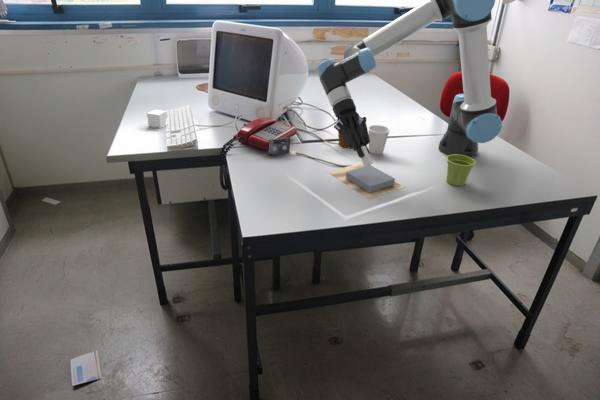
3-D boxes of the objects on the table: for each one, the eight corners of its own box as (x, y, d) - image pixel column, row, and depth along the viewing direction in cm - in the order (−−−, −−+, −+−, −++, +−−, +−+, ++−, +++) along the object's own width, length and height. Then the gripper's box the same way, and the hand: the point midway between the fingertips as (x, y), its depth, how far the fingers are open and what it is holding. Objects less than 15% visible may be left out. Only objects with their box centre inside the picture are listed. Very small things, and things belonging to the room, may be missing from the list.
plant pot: (436, 181, 143) (441, 158, 138) (449, 173, 148) (454, 151, 144) (461, 191, 137) (467, 168, 133) (474, 183, 143) (480, 160, 138)
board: (326, 174, 144) (326, 172, 144) (361, 164, 152) (361, 162, 152) (368, 201, 129) (369, 199, 128) (404, 189, 137) (404, 187, 136)
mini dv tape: (288, 151, 161) (288, 136, 158) (289, 152, 160) (289, 138, 157) (268, 153, 158) (268, 138, 155) (269, 154, 157) (269, 140, 154)
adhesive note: (160, 128, 178) (158, 115, 175) (148, 126, 179) (146, 113, 176) (168, 124, 183) (166, 111, 180) (156, 122, 184) (154, 109, 181)
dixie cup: (389, 151, 164) (393, 127, 159) (381, 158, 158) (385, 134, 153) (369, 146, 168) (372, 123, 163) (361, 153, 162) (364, 129, 157)
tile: (346, 171, 139) (370, 186, 130) (370, 165, 144) (395, 178, 136) (345, 178, 140) (369, 193, 131) (369, 171, 145) (393, 185, 137)
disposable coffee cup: (343, 139, 174) (345, 111, 168) (362, 145, 169) (365, 117, 163) (330, 145, 168) (332, 116, 162) (349, 151, 163) (352, 122, 157)
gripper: (350, 105, 147) (376, 165, 143) (321, 111, 140) (347, 173, 137) (362, 94, 140) (389, 156, 137) (332, 99, 134) (360, 165, 130)
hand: (368, 165), depth 137 cm, fingers closed
